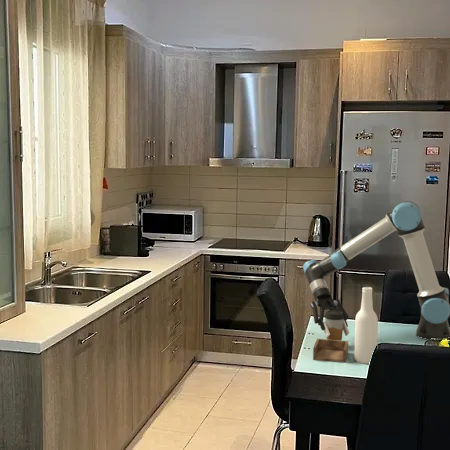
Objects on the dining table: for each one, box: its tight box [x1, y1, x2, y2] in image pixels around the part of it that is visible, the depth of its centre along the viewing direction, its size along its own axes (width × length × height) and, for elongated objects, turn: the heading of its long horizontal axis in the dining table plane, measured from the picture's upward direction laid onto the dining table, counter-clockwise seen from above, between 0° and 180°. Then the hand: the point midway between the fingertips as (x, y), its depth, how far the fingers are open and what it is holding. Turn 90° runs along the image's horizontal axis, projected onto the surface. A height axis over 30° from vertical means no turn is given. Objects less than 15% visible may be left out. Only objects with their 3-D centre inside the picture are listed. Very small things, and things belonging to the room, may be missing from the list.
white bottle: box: [353, 286, 379, 365], centre depth 238 cm, size 9×9×30 cm
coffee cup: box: [324, 310, 344, 341], centre depth 258 cm, size 8×8×15 cm
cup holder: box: [312, 338, 349, 363], centre depth 245 cm, size 13×13×5 cm
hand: (337, 335), depth 255 cm, fingers open, 9 cm apart
